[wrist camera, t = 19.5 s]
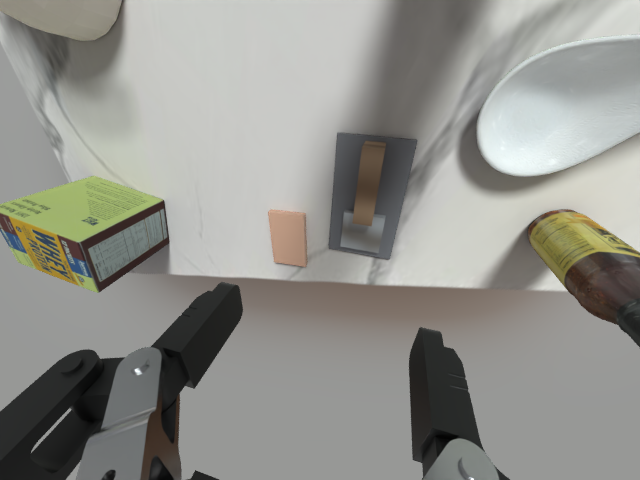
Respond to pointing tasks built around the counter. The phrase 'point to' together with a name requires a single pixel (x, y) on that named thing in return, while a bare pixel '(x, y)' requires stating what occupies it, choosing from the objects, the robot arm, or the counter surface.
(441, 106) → the counter surface
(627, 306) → the sauce bottle
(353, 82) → the counter surface
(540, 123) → the spoon rest
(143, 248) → the protein box
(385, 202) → the mat
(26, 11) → the kettle
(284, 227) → the tile
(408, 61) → the counter surface
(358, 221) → the tall tan post
